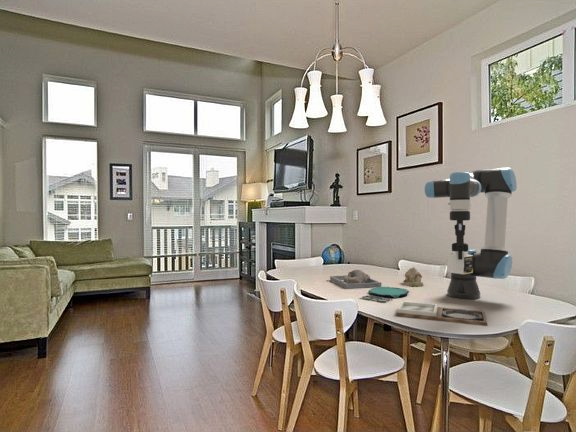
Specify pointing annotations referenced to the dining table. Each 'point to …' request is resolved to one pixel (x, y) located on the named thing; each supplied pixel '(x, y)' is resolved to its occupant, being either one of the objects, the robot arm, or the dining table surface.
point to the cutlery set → (385, 293)
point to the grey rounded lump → (356, 277)
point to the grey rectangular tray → (358, 285)
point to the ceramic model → (413, 278)
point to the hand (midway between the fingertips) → (460, 266)
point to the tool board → (437, 313)
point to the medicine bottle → (467, 261)
